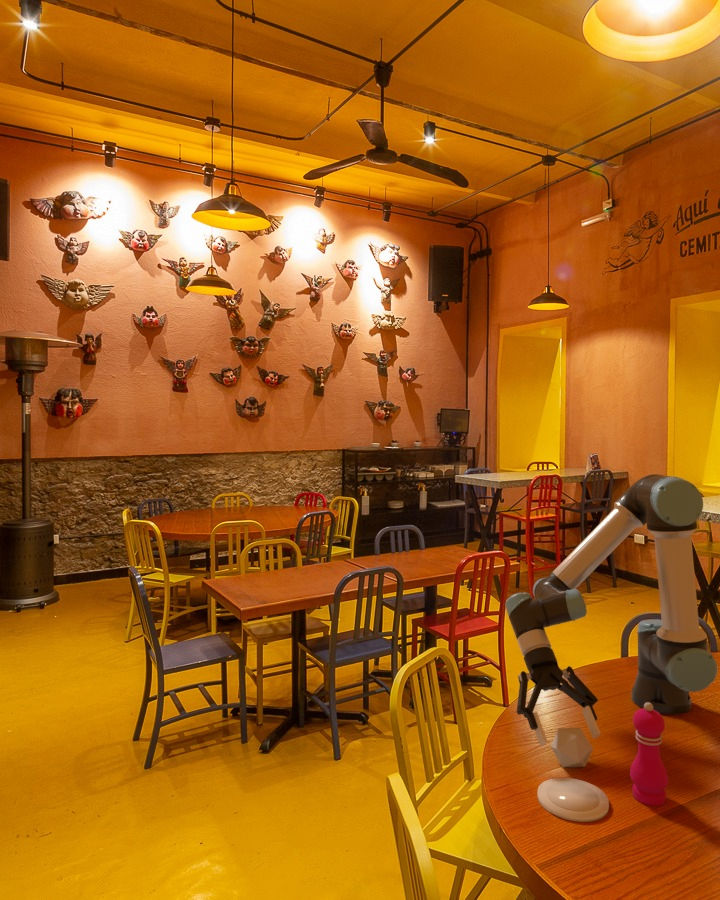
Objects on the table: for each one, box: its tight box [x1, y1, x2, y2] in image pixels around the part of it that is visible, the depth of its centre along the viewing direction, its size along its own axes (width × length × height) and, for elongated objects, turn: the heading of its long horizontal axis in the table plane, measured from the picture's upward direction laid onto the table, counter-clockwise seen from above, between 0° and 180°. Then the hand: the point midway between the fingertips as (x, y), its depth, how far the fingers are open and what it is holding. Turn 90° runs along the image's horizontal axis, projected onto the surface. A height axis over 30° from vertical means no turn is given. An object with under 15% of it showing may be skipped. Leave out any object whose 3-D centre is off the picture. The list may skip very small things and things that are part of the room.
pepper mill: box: [629, 702, 669, 807], centre depth 130 cm, size 7×7×20 cm
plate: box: [537, 777, 610, 823], centre depth 129 cm, size 14×14×1 cm
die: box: [550, 727, 594, 768], centre depth 144 cm, size 8×9×10 cm
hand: (570, 740), depth 143 cm, fingers open, 13 cm apart
